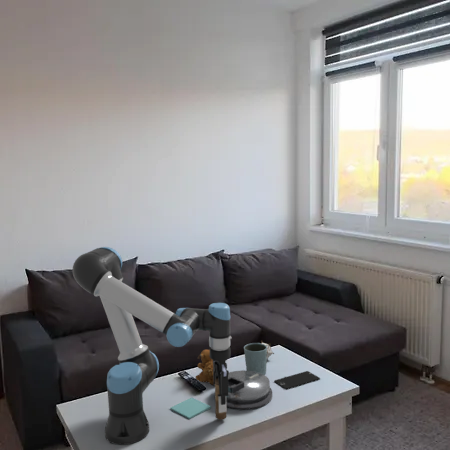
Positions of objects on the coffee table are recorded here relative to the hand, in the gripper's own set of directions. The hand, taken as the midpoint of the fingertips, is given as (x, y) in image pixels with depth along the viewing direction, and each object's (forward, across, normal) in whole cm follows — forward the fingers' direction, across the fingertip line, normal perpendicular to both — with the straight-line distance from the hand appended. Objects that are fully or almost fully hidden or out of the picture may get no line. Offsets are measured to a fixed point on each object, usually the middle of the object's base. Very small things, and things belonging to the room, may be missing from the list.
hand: (220, 408), depth 181 cm
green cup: (+5, +34, -25) cm, 42 cm away
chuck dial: (+3, +15, -13) cm, 21 cm away
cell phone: (+5, +21, -39) cm, 44 cm away
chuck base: (+4, +15, -13) cm, 21 cm away
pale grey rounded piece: (+5, +47, -33) cm, 58 cm away
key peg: (+3, 0, 0) cm, 3 cm away
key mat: (+5, +12, +9) cm, 15 cm away
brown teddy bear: (+5, +32, -4) cm, 33 cm away
